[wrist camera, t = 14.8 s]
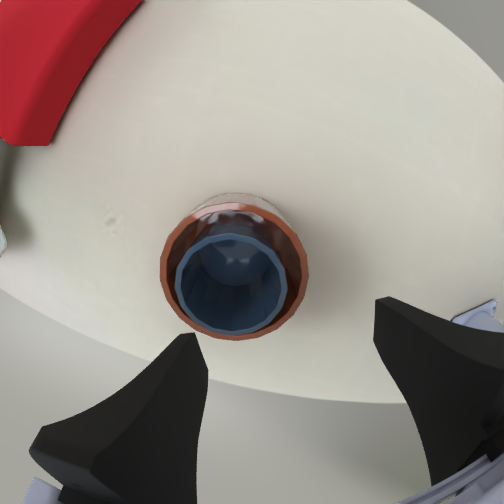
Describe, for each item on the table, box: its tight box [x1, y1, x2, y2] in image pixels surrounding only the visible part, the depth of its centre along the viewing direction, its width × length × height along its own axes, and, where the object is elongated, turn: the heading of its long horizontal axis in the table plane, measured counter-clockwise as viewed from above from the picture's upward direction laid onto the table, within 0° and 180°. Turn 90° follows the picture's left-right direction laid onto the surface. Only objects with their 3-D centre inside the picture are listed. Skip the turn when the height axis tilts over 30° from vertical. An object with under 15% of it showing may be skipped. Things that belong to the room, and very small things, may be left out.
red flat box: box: [0, 0, 142, 146], centre depth 10 cm, size 18×14×5 cm
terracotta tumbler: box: [160, 193, 309, 341], centre depth 17 cm, size 8×8×5 cm
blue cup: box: [175, 212, 288, 336], centre depth 16 cm, size 5×5×6 cm
